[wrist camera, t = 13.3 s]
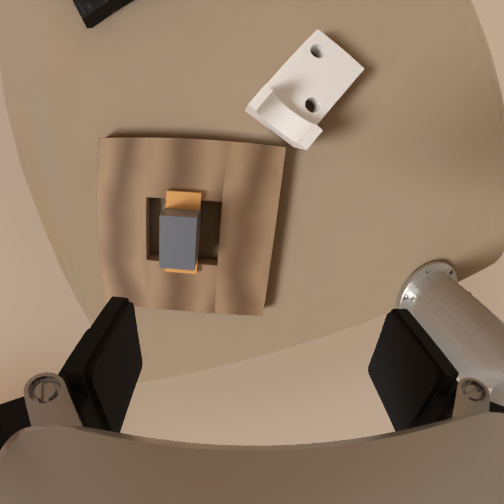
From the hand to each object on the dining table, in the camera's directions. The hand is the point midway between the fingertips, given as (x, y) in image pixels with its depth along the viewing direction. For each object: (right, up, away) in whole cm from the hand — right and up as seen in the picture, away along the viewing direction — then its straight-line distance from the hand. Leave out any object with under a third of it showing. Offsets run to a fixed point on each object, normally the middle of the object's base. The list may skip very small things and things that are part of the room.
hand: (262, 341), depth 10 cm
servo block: (-9, +6, +27) cm, 29 cm away
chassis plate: (-9, +6, +27) cm, 29 cm away
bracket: (+6, +23, +22) cm, 32 cm away
